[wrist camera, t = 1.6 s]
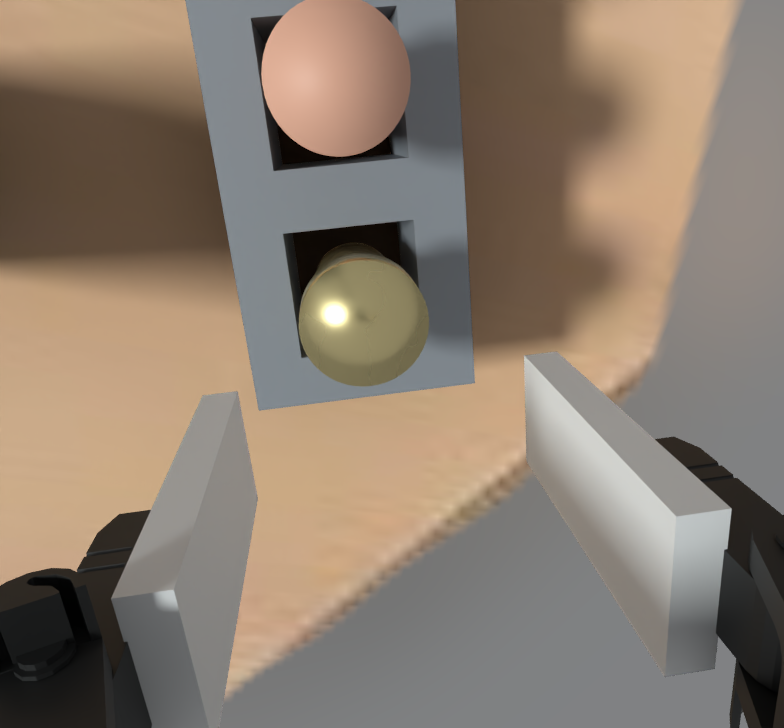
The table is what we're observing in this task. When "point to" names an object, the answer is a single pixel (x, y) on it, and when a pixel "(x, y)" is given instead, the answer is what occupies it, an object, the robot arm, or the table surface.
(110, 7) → the table surface
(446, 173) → the block
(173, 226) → the table surface
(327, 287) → the brass plunger
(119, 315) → the table surface
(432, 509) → the table surface
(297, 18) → the pink rounded piece
